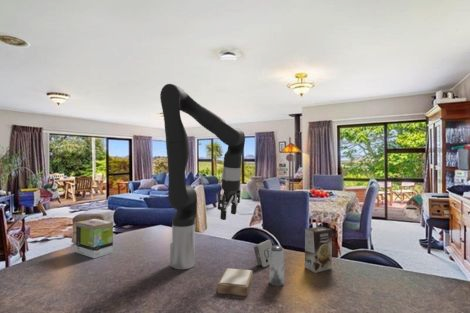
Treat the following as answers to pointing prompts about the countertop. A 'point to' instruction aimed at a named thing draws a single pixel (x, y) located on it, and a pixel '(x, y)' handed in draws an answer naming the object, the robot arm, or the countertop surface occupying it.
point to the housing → (276, 265)
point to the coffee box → (318, 249)
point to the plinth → (235, 282)
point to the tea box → (94, 237)
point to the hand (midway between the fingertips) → (228, 216)
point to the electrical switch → (263, 253)
